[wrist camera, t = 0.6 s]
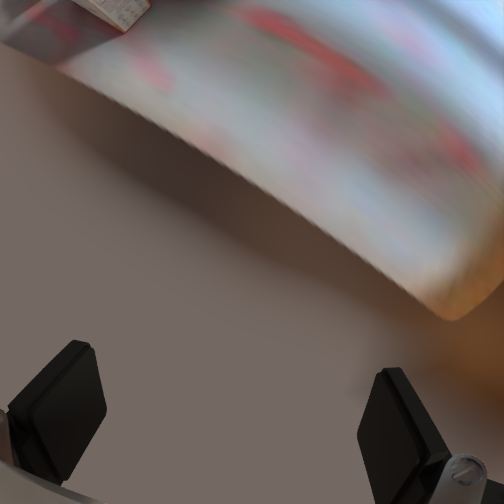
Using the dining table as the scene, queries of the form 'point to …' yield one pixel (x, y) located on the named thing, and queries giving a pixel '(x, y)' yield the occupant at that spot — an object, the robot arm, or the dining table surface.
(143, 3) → the cracker box
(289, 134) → the dining table surface
